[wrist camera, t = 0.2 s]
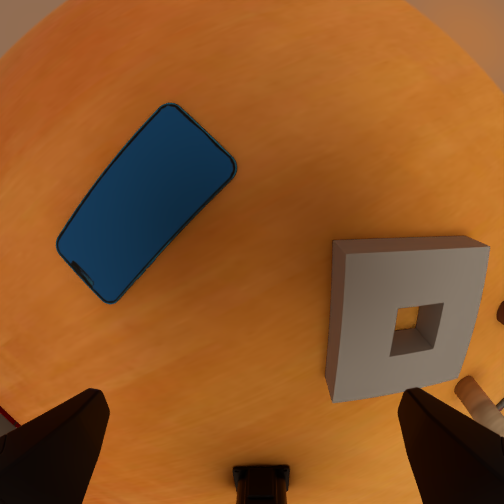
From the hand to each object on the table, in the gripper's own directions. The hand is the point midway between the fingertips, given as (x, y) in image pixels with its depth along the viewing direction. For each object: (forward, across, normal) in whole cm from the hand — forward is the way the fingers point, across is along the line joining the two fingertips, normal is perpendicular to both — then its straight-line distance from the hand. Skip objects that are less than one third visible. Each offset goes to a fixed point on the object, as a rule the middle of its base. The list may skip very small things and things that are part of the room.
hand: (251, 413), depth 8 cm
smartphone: (+15, +9, -4) cm, 18 cm away
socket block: (+14, -12, +4) cm, 19 cm away
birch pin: (+15, -23, +15) cm, 31 cm away
